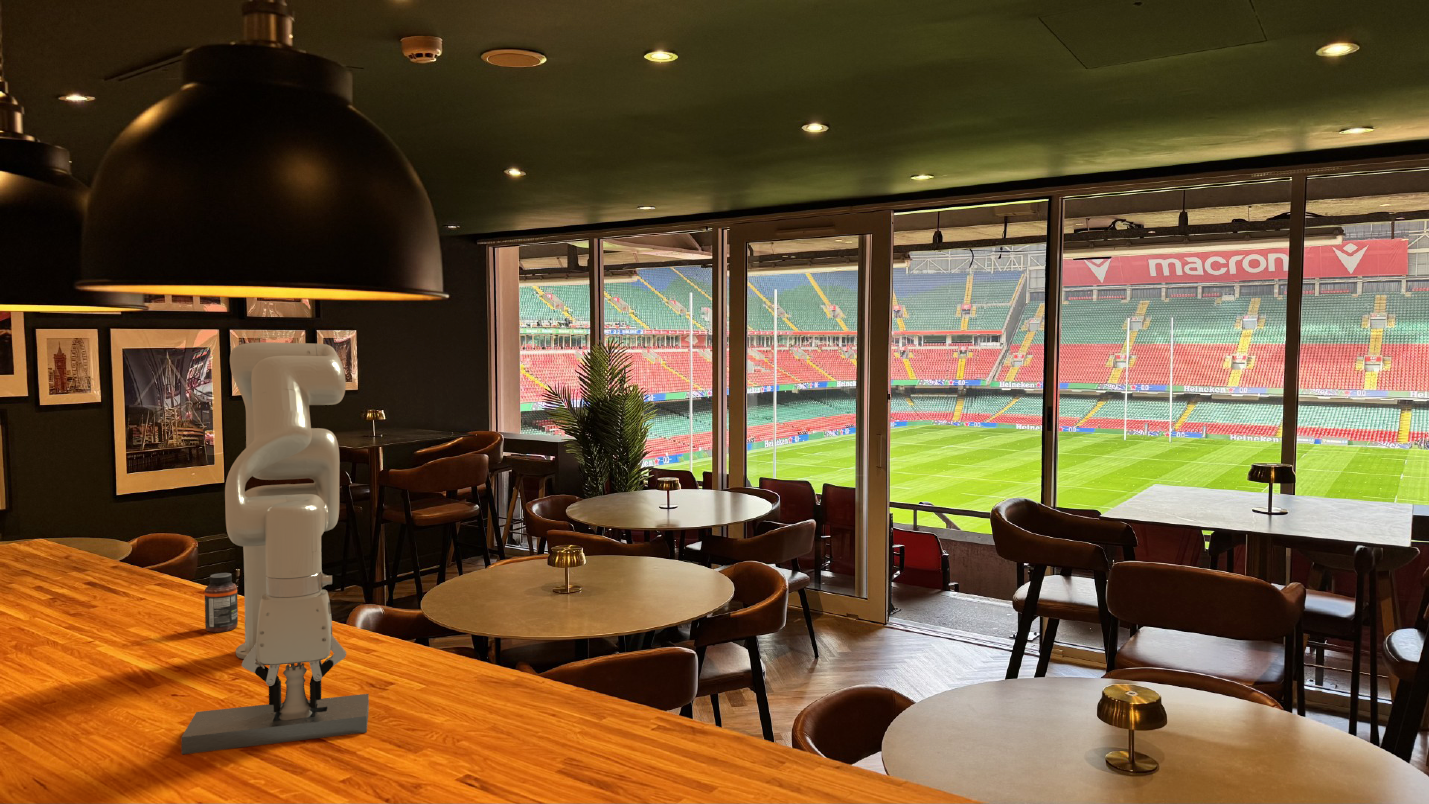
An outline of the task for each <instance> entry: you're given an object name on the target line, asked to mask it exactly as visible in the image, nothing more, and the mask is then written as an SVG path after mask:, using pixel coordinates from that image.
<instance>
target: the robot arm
mask: <svg viewBox="0 0 1429 804" xmlns="http://www.w3.org/2000/svg"><path fill="white" fill-rule="evenodd" d="M229 365H230V371H231V374H232V378H233V380H234V382H235V386H236V387H237V389H238V390H239V392H240V395H241V397H242V400H243V403H244V406H245V436H246V438H245V439H246V441H245V448H244V450H242V451H241V453H240V454H239V455H238V456H237V457H236V459H235V460H234V462H233V463H232V465H231V467H230V470H229V471H228V474H227V477H226V480H225V481H226V482H225V487H224V501H225V508H224V509H225V527H226V532H227V535H228V539H229V540H230V541H231V542H232V543H233V544H235V545H236V546H239V547H243V548H242V549H243V550H242V551H243V573H244V574H243V575H244V577H243V578H244V580H243V581H244V583H243V584H244V589H243V590H244V638H245V639H244V643H241V644H240V645H238V646H237V647H236V648H235V656H236V657H237V658H238V659H241V660H242V663H241V667H242V668H243V669H245V670H246V671H249V672H251V673H253V674H255V675H256V676H257V677H258V678H260V679H261V680H262V681H264V682H265V684H266V685H267V686H268V704H269V705H273V707H274V712H278V711H279V710H280V707H281V703H282V680H281V679H280V676H279V675H278V674H279V670H280V665H288V664H289V665H291V664H293V663H294V664H297V663H308V664H309V667H310V670H311V677H310V681H309V700H310V707H311V708H315V707H316V703H317V700H321V699H322V679H323V677H324V676H326V674H327V673H329V671H330V670H332V668H333V667H334V666H335V665H337V664H338V663H340V662H342V661H343V660H344V659H345V658H346V657H347V651H346V649H345V648H344V647H343V646H342V645H341V644H340V643H339V641H338V640H337V638H335V636H334V635H333V621H332V620H333V618H332V611H331V602H330V596H329V593H328V590H326V589H323V588H324V587H325V586H327V585H332V584H333V575H330V574H329V575H327V574H325V573H323V570H322V536H323V534H324V532H328V531H330V530H333V529H334V528H335V527H336V525H337V524H338V521H339V518H340V517H339V515H340V464H341V462H340V448H339V442H338V440H337V437H336V435H335V434H334V432H333V431H331V430H329V429H327V428H319V427H317V428H315V427H312V425H311V414H310V406H325V405H327V406H329V405H331V406H333V405H337V404H339V403H340V402H342V400H343V398H344V396H345V394H346V386H347V384H346V382H347V381H346V374H345V373H346V372H345V370H344V366H343V362H342V361H341V358H340V357H339V355H338V353H337V352H336V350H335V348H334V347H333V346H331V345H329V344H326V343H307V342H306V343H304V342H303V343H302V342H299V343H297V342H296V343H295V342H273V341H268V342H267V341H265V342H264V341H263V342H261V341H260V342H247V343H242V344H239V345H237V346H235V347H234V348H233V349H232V350H231V352H230V355H229ZM252 477H253V478H255V479H259V480H265V481H267V480H268V481H273V480H275V481H277V480H278V481H279V480H280V481H281V480H299V479H300V480H301V479H310V480H313V483H312V482H311V483H295V484H293V483H292V484H291V483H285V484H270V485H268V484H267V485H261V486H255V487H251V488H249V489H247V490H245V489H246V486H247V482H248V481H249V480H250V478H252ZM331 652H332V653H333V654H332V655H331ZM330 655H331V656H330ZM322 661H324V662H322ZM267 666H268V667H267Z"/></svg>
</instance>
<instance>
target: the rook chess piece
mask: <svg viewBox="0 0 1429 804" xmlns="http://www.w3.org/2000/svg"><path fill="white" fill-rule="evenodd" d="M307 671H308V669H307V668H306V666H305V662H303V663H296V665H295V663H293V664H285V669H284V671H283V672H282V674H283V675H284V677H285V678H286V680H285V682H284V684H285V685H286V690H285V696H284V697H285V698H284V701H283V702H282V703H283V706H282V707H281V709H280V713H281V715H280V717H279V718H280V719H281V720H291V719H300V718H309V717H310V716H311V714H312V712H311V711H310V709H311V707H310V703H309V702H308V700H309V699H308V698H307V695H306V689H305V682H306V679H305V674H306V673H307Z"/></svg>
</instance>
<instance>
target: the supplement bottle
mask: <svg viewBox="0 0 1429 804" xmlns="http://www.w3.org/2000/svg"><path fill="white" fill-rule="evenodd" d="M232 577H233V575H232V573H230V572H220V573H213V574H210V576H209V584H208V585H207V587H205V589H204V619H205V620H204V622H205V623H204V626H205V630H206V631H207V632H210V633H224V632H229V631H231V630H234V629H236V628H237V627H238V625H239V624H238V623H239V618H238V617H239V614H238V612H239V611H238V610H239V609H238V587H237V585H236V583H233V581H232V580H233V578H232Z"/></svg>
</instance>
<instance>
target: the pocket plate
mask: <svg viewBox="0 0 1429 804" xmlns="http://www.w3.org/2000/svg"><path fill="white" fill-rule="evenodd" d="M369 694H370V693H362V694H351V695H343V696H334V697H325V698H323V697H322V698H321V700H317V703H316V707H315V708H311V709H310V711H311V712H312V714H311V716H310V717H309V718H300V719H291V720H281V719H280V718H279V717H280V715H281V713H280V710H279V711H278V712H274V707H273V705H269V703H267V704H258V705H249V706H248V705H247V706H240V707H231V708H221V709H212V710H211V709H210V710H203V711H196V712H195V714H194V716H193V717H192V719H191V720H190V722H189V724H188V725H187V727H186V729H185V730H184V732H183V734H182V736H180V737H181V755H187V754H188V755H189V754H195V753H204V752H213V751H221V750H230V749H237V748H246V747H255V746H256V747H257V746H262V745H263V746H264V745H272V744H280V743H289V742H290V743H291V742H297V741H305V740H315V739H321V738H330V737H339V736H346V735H355V734H363V733H364V734H365V733H367V732H368V731H367V730H368V724H369V723H368V721H369V708H370V707H369V701H370V699H369ZM308 702H309V703H310V699H308ZM282 706H283V702H281V707H282ZM281 707H280V709H281Z"/></svg>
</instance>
